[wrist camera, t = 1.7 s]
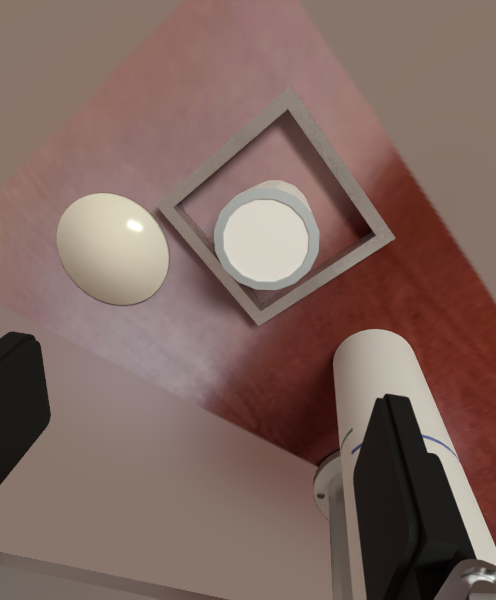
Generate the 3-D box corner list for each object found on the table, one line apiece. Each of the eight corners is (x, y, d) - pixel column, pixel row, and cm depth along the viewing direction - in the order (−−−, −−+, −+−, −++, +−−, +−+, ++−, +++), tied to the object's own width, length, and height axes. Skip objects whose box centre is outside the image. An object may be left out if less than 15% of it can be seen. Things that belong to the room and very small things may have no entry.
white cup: (285, 272, 34) (279, 309, 28) (216, 227, 34) (194, 254, 27) (336, 204, 31) (342, 229, 25) (261, 153, 31) (249, 164, 24)
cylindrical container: (432, 365, 36) (632, 787, 14) (369, 408, 39) (450, 816, 17) (377, 314, 35) (497, 688, 12) (316, 362, 38) (324, 738, 15)
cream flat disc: (193, 263, 35) (191, 264, 35) (116, 322, 39) (114, 324, 38) (110, 167, 33) (108, 167, 32) (37, 239, 36) (34, 240, 36)
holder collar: (391, 232, 32) (395, 238, 30) (260, 318, 36) (258, 326, 35) (291, 86, 28) (290, 85, 27) (161, 200, 33) (155, 204, 32)
